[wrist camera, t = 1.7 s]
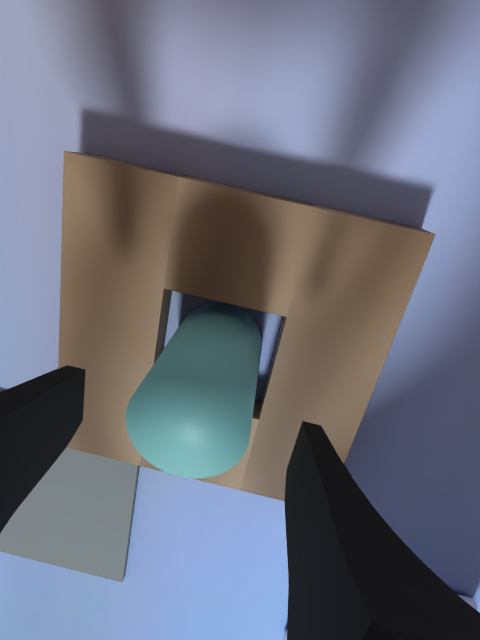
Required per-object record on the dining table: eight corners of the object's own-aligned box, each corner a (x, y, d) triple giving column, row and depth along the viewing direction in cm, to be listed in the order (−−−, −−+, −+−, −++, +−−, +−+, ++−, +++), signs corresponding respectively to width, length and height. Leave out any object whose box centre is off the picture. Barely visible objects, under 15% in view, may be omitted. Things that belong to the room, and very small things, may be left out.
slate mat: (144, 429, 20) (141, 434, 20) (124, 576, 25) (122, 582, 25) (-70, 377, 21) (-77, 381, 20) (-51, 531, 25) (-56, 537, 25)
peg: (270, 314, 17) (263, 390, 11) (251, 388, 19) (236, 490, 13) (184, 294, 17) (131, 359, 11) (172, 369, 19) (120, 462, 13)
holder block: (421, 228, 15) (435, 234, 14) (322, 488, 20) (325, 511, 19) (83, 152, 16) (63, 151, 14) (71, 427, 21) (56, 445, 19)
